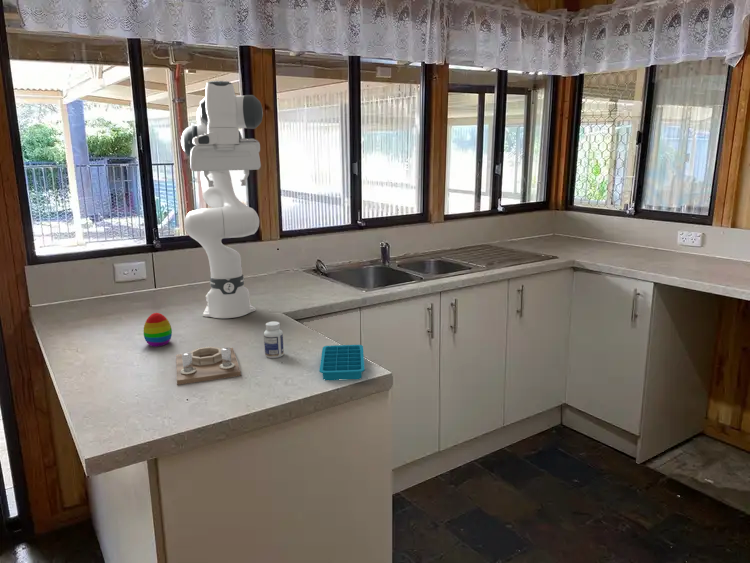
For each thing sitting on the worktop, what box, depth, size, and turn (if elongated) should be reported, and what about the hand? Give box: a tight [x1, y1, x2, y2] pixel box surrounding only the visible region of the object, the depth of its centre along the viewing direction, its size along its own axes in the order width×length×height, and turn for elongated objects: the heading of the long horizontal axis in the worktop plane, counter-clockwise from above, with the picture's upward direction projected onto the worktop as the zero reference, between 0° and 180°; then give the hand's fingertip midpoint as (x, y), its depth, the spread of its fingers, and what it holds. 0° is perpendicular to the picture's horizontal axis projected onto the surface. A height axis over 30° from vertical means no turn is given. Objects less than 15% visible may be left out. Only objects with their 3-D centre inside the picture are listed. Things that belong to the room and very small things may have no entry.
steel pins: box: [180, 347, 235, 375], centre depth 149 cm, size 4×14×5 cm, turn 110°
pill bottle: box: [263, 321, 285, 359], centre depth 161 cm, size 5×5×10 cm
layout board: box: [175, 346, 242, 386], centre depth 154 cm, size 20×16×3 cm
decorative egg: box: [143, 312, 173, 348], centre depth 173 cm, size 8×8×10 cm
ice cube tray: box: [318, 344, 366, 381], centre depth 153 cm, size 12×20×3 cm, turn 2°
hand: (227, 186), depth 167 cm, fingers open, 8 cm apart
